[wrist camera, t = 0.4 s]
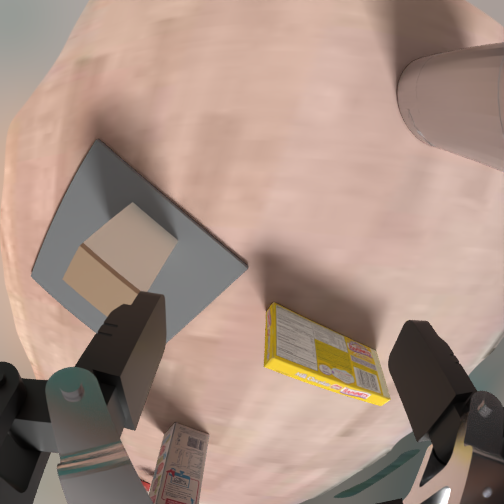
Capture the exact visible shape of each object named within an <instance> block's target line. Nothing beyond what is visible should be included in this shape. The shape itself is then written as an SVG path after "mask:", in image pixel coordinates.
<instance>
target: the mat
mask: <svg viewBox="0 0 504 504" xmlns="http://www.w3.org/2000/svg"><path fill="white" fill-rule="evenodd" d="M132 202H133V203H134V204H136V205H137V206H138V207H139V208H140V209H141V210H143V211H144V212H145V213H146V214H147V215H148V216H150V217H151V218H152V219H153V220H154V221H156V222H157V223H158V224H159V225H160V226H161V227H163V228H164V229H165V230H166V231H167V232H169V233H170V234H171V235H172V236H173V237H175V238H176V239H177V240H178V242H177V244H176V245H175V247H174V249H173V250H172V252H171V253H170V255H169V257H168V258H167V260H166V261H165V263H164V265H163V266H162V268H161V270H160V271H159V273H158V275H157V276H156V278H155V280H154V281H153V283H152V285H151V286H150V288H149V290H148V292H151V293H157V294H163V295H164V296H165V306H166V330H167V337H166V343H167V342H168V341H169V340H170V339H172V338H173V337H174V336H175V335H176V334H177V333H178V332H179V331H180V330H181V329H183V328H184V327H185V326H186V325H187V324H188V323H189V322H190V321H191V320H192V319H194V318H195V317H196V316H197V315H198V314H199V313H200V312H201V311H202V310H203V309H205V308H206V307H207V306H208V305H209V304H210V303H211V302H212V301H213V300H214V299H215V298H217V297H218V296H219V295H220V294H221V293H222V292H223V291H224V290H225V289H226V288H227V287H229V286H230V285H231V284H232V283H233V282H234V281H235V280H236V279H237V278H238V277H239V276H241V275H242V274H243V273H244V272H245V271H246V270H247V269H248V266H247V265H246V264H245V263H244V262H243V261H241V260H240V259H239V258H238V257H237V256H235V255H234V254H233V253H232V252H231V251H229V250H228V249H227V248H226V247H225V246H223V245H222V244H221V243H220V242H219V241H217V240H216V239H215V238H214V237H213V236H212V235H210V234H209V233H208V232H207V231H206V230H204V229H203V228H202V227H201V226H200V225H198V224H197V223H196V222H195V221H194V220H193V219H191V218H190V217H189V216H188V215H187V214H185V213H184V212H183V211H182V210H181V209H180V208H178V207H177V206H176V205H175V204H174V203H173V202H171V201H170V200H169V199H168V198H167V197H165V196H164V195H163V194H162V193H161V192H160V191H158V190H157V189H156V188H155V187H154V186H153V185H151V184H150V183H149V182H148V181H147V180H146V179H144V178H143V177H142V176H141V175H140V174H139V173H137V172H136V171H135V170H134V169H133V168H132V167H131V166H129V165H128V164H127V163H126V162H125V161H124V160H122V159H121V158H120V157H119V156H118V155H117V154H115V153H114V152H113V151H112V150H111V149H110V148H109V147H107V146H106V145H105V144H104V143H103V142H102V141H101V140H99V139H96V141H95V142H94V144H93V146H92V147H91V149H90V151H89V152H88V154H87V156H86V157H85V159H84V161H83V163H82V164H81V166H80V168H79V170H78V171H77V173H76V175H75V177H74V179H73V181H72V183H71V184H70V186H69V188H68V190H67V192H66V194H65V196H64V198H63V200H62V202H61V204H60V206H59V209H58V211H57V213H56V215H55V217H54V219H53V221H52V224H51V226H50V228H49V231H48V233H47V235H46V238H45V240H44V242H43V245H42V247H41V250H40V252H39V255H38V258H37V260H36V263H35V266H34V268H33V271H32V274H31V277H32V278H33V279H34V280H35V281H36V282H37V283H38V284H39V285H40V286H41V287H42V288H44V289H45V290H46V291H47V292H48V293H49V294H50V295H51V296H52V297H53V298H55V299H56V300H57V301H58V302H59V303H60V304H61V305H63V306H64V307H65V308H66V309H67V310H68V311H70V312H71V313H72V314H73V315H74V316H76V317H77V318H78V319H79V320H80V321H82V322H83V323H84V324H85V325H87V326H88V327H89V328H90V329H92V330H93V331H94V332H96V333H98V330H99V328H100V327H101V326H102V325H103V324H104V321H105V320H106V318H107V316H106V315H104V314H103V313H102V312H100V311H99V310H98V309H97V308H95V307H94V306H93V305H92V304H91V303H89V302H88V301H87V300H86V299H85V298H83V297H82V296H81V295H80V294H79V293H77V292H76V291H75V290H74V289H73V288H72V287H70V286H69V285H68V284H67V283H66V282H65V281H64V280H63V277H64V275H65V273H66V271H67V269H68V267H69V265H70V263H71V261H72V259H73V257H74V255H75V253H76V251H77V250H78V248H79V246H80V245H81V244H82V243H83V242H84V241H85V240H87V239H88V238H89V237H90V236H91V235H92V234H94V233H95V232H96V231H97V230H98V229H100V228H101V227H102V226H103V225H104V224H106V223H107V222H108V221H109V220H111V219H112V218H113V217H114V216H116V215H117V214H118V213H119V212H121V211H122V210H123V209H124V208H126V207H127V206H128V205H129V204H131V203H132Z"/></svg>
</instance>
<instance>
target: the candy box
mask: <svg viewBox="0 0 504 504" xmlns="http://www.w3.org/2000/svg"><path fill="white" fill-rule="evenodd" d="M264 367H266V368H268V369H271V370H273V371H276V372H279V373H281V374H284V375H287V376H289V377H292V378H295V379H298V380H300V381H303V382H306V383H309V384H312V385H315V386H318V387H321V388H324V389H327V390H330V391H333V392H336V393H339V394H342V395H345V396H349V397H352V398H355V399H358V400H362V401H365V402H368V403H372V404H375V405H379V406H382V405H384V404H385V403H387V402H388V401H389V400H391V398H390V395H389V392H388V388H387V385H386V381H385V378H384V374H383V371H382V368H381V365H380V362H379V358H378V355H377V352H376V350H373V349H371V348H369V347H367V346H365V345H363V344H360V343H358V342H356V341H354V340H352V339H350V338H348V337H345V336H343V335H341V334H339V333H337V332H335V331H333V330H331V329H328V328H326V327H324V326H322V325H320V324H318V323H316V322H314V321H312V320H309V319H307V318H305V317H303V316H301V315H299V314H297V313H295V312H293V311H291V310H289V309H287V308H285V307H283V306H281V305H279V304H277V303H275V302H273V303H272V304H271V306H270V307H269V309H268V310H267V312H266V328H265V353H264Z"/></svg>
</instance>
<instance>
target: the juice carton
mask: <svg viewBox="0 0 504 504" xmlns="http://www.w3.org/2000/svg"><path fill="white" fill-rule="evenodd" d="M208 441H209V434H206V433H203V432H201V431H198V430H195V429H192V428H190V427H187V426H184V425H182V424H179V423H177V422H175V423H174V424H173V425H172V426H171V427H170V428H169V430H168V431H167V432H166V433H165V434H164V437H163V441H162V445H161V449H160V452H159V456H158V460H157V464H156V468H155V472H154V476H153V480H152V484H151V488H150V492H149V497H150V498H151V500H152V502H153V503H154V504H199V498H200V492H201V485H202V479H203V472H204V466H205V460H206V453H207V447H208Z"/></svg>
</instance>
